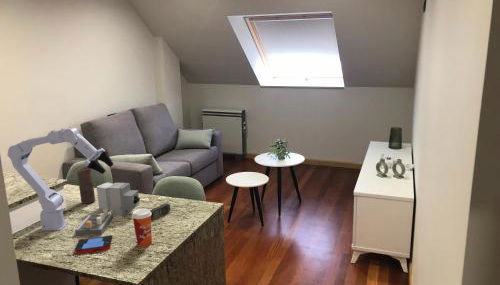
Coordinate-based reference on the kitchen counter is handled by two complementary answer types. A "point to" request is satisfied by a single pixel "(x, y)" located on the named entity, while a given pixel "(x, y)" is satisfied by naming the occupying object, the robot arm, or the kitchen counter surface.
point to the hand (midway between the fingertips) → (108, 169)
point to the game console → (93, 244)
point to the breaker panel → (95, 224)
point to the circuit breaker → (122, 199)
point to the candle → (86, 185)
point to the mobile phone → (160, 211)
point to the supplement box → (104, 196)
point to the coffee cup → (142, 226)
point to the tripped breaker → (89, 224)
